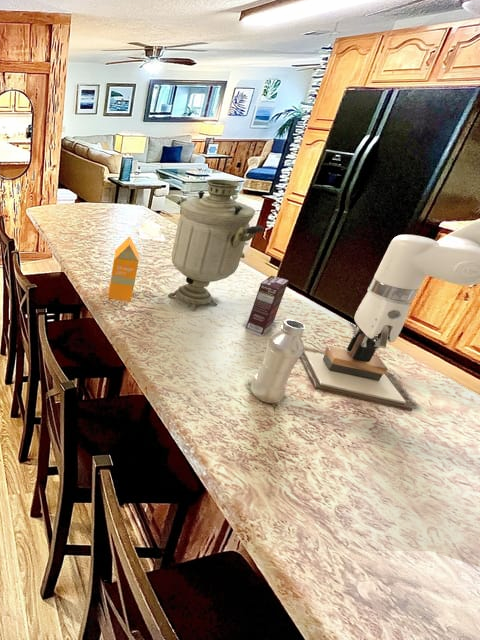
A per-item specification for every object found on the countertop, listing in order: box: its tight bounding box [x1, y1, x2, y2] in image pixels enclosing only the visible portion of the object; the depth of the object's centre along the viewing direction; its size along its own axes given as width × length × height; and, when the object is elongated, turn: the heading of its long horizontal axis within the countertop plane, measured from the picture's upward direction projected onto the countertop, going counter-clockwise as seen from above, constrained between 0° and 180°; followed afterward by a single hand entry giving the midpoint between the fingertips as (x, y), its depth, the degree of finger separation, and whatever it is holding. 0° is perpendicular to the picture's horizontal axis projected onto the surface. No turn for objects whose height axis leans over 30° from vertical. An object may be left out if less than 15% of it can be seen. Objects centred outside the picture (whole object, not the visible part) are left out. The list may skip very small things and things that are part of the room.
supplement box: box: [244, 275, 289, 337], centre depth 112 cm, size 9×5×16 cm, turn 130°
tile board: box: [299, 350, 414, 412], centre depth 96 cm, size 18×16×1 cm
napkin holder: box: [138, 220, 166, 241], centre depth 191 cm, size 15×11×6 cm
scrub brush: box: [323, 333, 389, 381], centre depth 95 cm, size 10×5×10 cm, turn 68°
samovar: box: [167, 178, 265, 312], centre depth 122 cm, size 30×26×40 cm
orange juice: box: [107, 235, 140, 302], centre depth 130 cm, size 8×9×20 cm
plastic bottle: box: [250, 319, 306, 404], centre depth 85 cm, size 6×7×20 cm
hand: (357, 355), depth 95 cm, fingers closed on scrub brush, 2 cm apart
